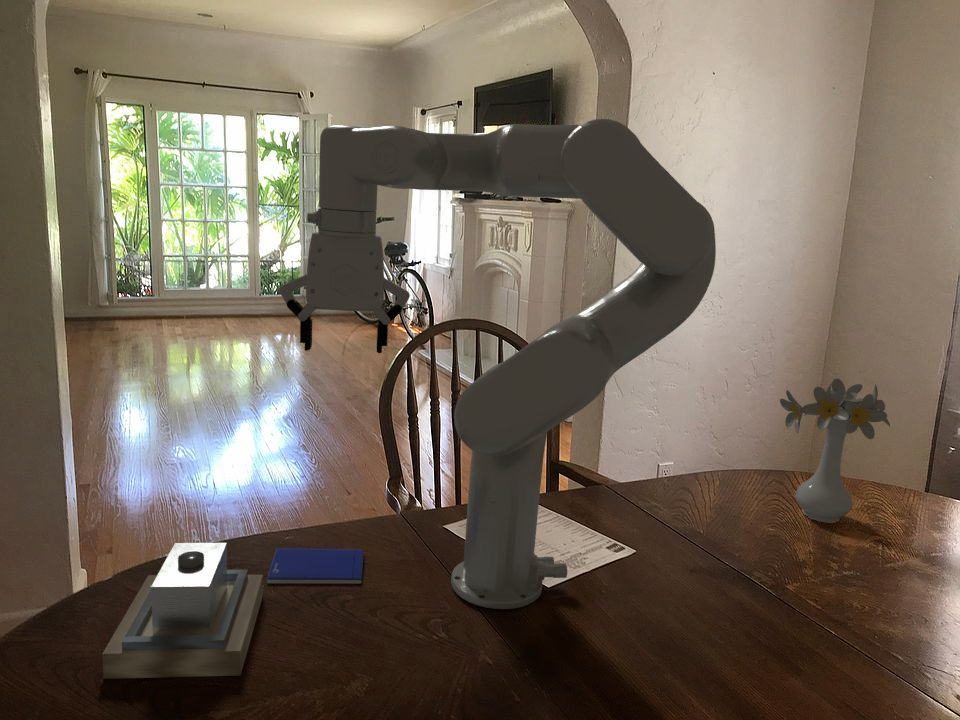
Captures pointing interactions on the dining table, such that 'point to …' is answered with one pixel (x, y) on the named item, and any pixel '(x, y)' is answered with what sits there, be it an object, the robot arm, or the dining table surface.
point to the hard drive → (316, 566)
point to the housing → (189, 589)
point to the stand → (186, 637)
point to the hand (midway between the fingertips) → (343, 349)
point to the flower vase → (833, 444)
